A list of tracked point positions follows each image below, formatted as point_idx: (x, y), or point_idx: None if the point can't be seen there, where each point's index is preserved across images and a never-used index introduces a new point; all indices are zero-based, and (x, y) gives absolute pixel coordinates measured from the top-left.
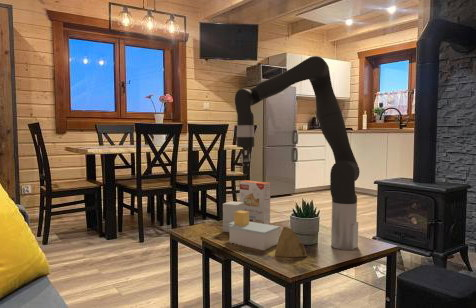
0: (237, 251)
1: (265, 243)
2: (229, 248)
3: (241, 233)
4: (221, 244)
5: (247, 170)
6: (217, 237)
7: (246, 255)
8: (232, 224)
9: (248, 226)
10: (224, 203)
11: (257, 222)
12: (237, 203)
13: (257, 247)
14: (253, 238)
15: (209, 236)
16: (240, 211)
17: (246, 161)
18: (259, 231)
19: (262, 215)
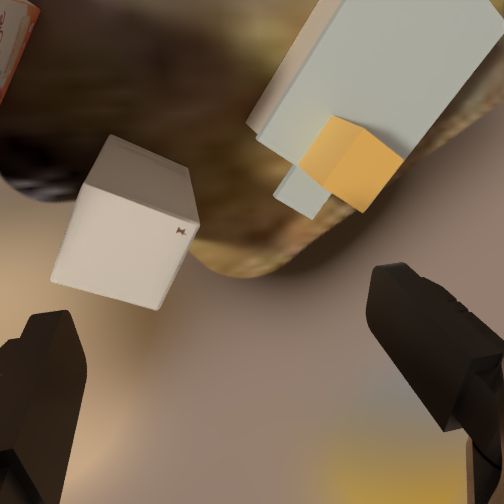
0: (432, 141)
1: None
2: (395, 173)
3: None
4: (347, 207)
5: (434, 307)
6: (255, 236)
7: (479, 105)
8: (326, 198)
9: (384, 115)
10: (152, 302)
11: (16, 54)
12: (147, 227)
13: None
14: None
15: (243, 266)
16: (354, 181)
17: (502, 491)
18: (484, 54)
19: (11, 12)
